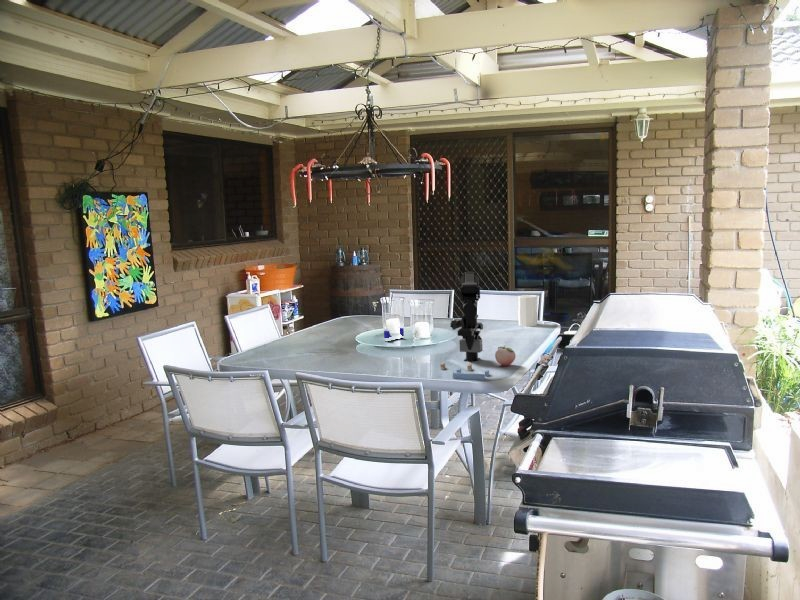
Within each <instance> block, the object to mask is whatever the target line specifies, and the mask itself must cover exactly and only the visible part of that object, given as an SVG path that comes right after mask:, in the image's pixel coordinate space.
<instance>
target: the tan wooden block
mask: <svg viewBox="0 0 800 600" xmlns="http://www.w3.org/2000/svg"><path fill="white" fill-rule="evenodd" d="M466 367H467V372H468V371H469V372H471V371H472V370H473V364H471V363H469V364H468V365H467V366H466ZM445 369H446V362H442V363H441V364H440V370H441V371H442V370H445ZM471 369H472V370H471Z"/></svg>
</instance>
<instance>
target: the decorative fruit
mask: <svg viewBox="0 0 800 600" xmlns="http://www.w3.org/2000/svg"><path fill="white" fill-rule="evenodd" d="M494 357H495V358H494V359H495V360H496V362H497V364H499V365H501V366H503V367H508V366H510V365H512V364H514V361H515V360H516V352H515V351H514V350H513V349H512V348H510V347H506V346H498V347H497V350H496V351H495V353H494Z"/></svg>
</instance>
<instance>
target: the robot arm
mask: <svg viewBox="0 0 800 600" xmlns="http://www.w3.org/2000/svg"><path fill="white" fill-rule="evenodd" d="M480 299H481V288H480V277H479V276H478V275H476V272H474V271H465V272H463V274H462V276H461V277H460V302H463V303H462V304H463V305H462V312H463V315H462V316H461V318H460V319H458V320H457V319H454V320H453V319H452V320H451V321H450V324H449V325H450V326H449V327H450V328H452V331H454V330H456V329H458V330H457V336H458V337H462V339H465V341H466V344H467V347H468V350H471V348H472V345H473V342H474V339H482V337H481V335H480V334H481V332H482V330H483V329H484V324H483V323H482V322H478V318H479V314H478V309H477V308H478V307H477V302H478V301H479V300H480ZM479 302H480V301H479ZM482 340H483V339H482ZM479 360H481V357H479V353H478V352H465V359H463V362H475V361H477V362H478V361H479Z"/></svg>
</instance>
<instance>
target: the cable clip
mask: <svg viewBox="0 0 800 600" xmlns="http://www.w3.org/2000/svg"><path fill="white" fill-rule="evenodd" d="M399 328H400V334H401V335H402V336H404V337H405V333H404V332H405V331H404V328H403V327H399ZM383 335H384V336H383V338H389V337H392V336H393V335H391V333H390V330H384V331H383Z"/></svg>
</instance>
